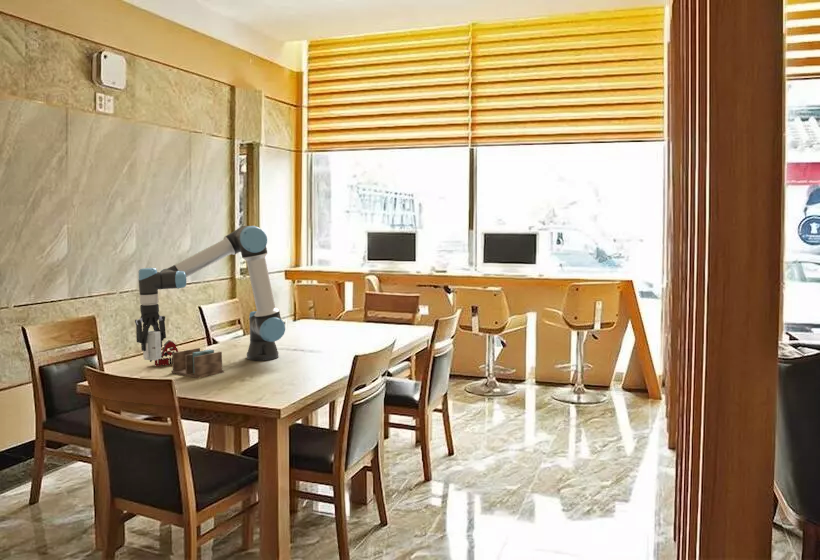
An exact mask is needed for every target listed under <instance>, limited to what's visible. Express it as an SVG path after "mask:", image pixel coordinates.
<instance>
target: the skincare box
mask: <svg viewBox="0 0 820 560" xmlns="http://www.w3.org/2000/svg"><path fill="white" fill-rule="evenodd" d="M146 343H148V353H149V358H148V359H147V358H144V357H143V360H144V361H145V360H146V361H150V360H152V361H155V360H157V361H158V359H161V353H162V348H161V336H160V331H154V330H148V335H147V341H146Z"/></svg>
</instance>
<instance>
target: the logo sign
mask: <svg viewBox="0 0 820 560" xmlns="http://www.w3.org/2000/svg"><path fill="white" fill-rule="evenodd" d="M175 352H179V349H178V347H177V344H176V343H175V342H174V341H172V340H169V339H168V340H166V342H165V343H164V344H163V346H162V349H161V359H158V360H154V366H155V365H156V366H155V367H162V366H161V365H163V366H171V365H170V364H172V365H173V362H172V353H175ZM168 356H169V357H168ZM152 361H153V360H149V362H150V363H152Z"/></svg>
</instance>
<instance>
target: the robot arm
mask: <svg viewBox="0 0 820 560" xmlns="http://www.w3.org/2000/svg"><path fill="white" fill-rule="evenodd" d="M267 244H268V236H267V233H266V232H265V231H264V230H263V228H260V227H259V226H257V225H243V226H240V227H239V228H236V229H235V230H233V231H232V232H231V233H228V234H227V235H225V236H223V238H222V240H220V241H218V242H216V243H215V244H212V245H210V246H208V247H206V248H204V249H203V250H201V251H198V252H197V253H195V254H193V255H191V256H189V257H187V258H184V259H183V260H181V261H180V262H177V263H175V264H174V265H171V266H170V267H168V268H164V269H161V270H160V271H158V270H157V268H156V267H145V268H144V267H142V268H139V270H138V278H137V279H138V291H139V304H140V305H139V307H140V315H141V316H140V317H139V318H138V319H135V320H134V323H135V328H136V331H135V332H136V338H135V339H136V343H138V344H140V346H141V347H140V349H141V351H142V352H143V354H142V356H143V359H144V358H147V359H148V358H149V353H148V343H146V341H147V335H148V331H150V327H152V328H153V331H160V336H161V349H163V341H164V339H166V338H167V333H166V323H165V322H166V316H165V315H160V314H159V313H160V305H159V290H172V289H183V288H186V287H187V278H188V277H189V276H191V275H194V274H196V273H197V272H200V271H202V270H203V269H206V268H207V267H209V266H210V265H212V264H214V263H217V262H219V261H221V260H222V259H225V258H226V257H229V256H230V255H234V256H235V255H237V254H239V253H240V254H241V258H242V259H244V261H246V266H247V271H248V276H249V281H250V286H251V290H252V294H253V300H254V303H255V310H256V311H255V310H253V311H250V312H249V317H248V321H249V345H248V348H247V349H248V350H247V352H246V359H247V360H250V361H270V360H275V359H278V358H279V356H280V355H279V351H278V348H277V344H276V342H277V341H280V339H281V338H282V337H283V336H284V335H285V333H286V325H285V322H284V321H283V320H282V316H281V313H280V309H279V308H277V306H276V304H275V300H274V294H273V290H272V289H273V288H272V285H271V281H270V276H269V270H268V265H267V261H266V256H267V254H268V250H267Z"/></svg>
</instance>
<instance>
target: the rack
mask: <svg viewBox="0 0 820 560" xmlns="http://www.w3.org/2000/svg"><path fill="white" fill-rule="evenodd" d="M174 352H175V353H172V355H171V360H172V362H173V364H172V370H171V372H172V374H174V373H176V375H179V374H180V375H181V376H184V375H186V376H185V377H189V376H190V378H194V377H195V378H194V379H200V378H199V377H201V378H204V376H205V377H210V376H214V375H218V374H222V372H223V373H224V372H225V370H224V369H223V356H222V355H223V354H222V353H223V352H222V351H217V352H215V350H214V349H205V350H201V348H199V347H197V348H196V347H195V348H191V349H186V350H181V351H178V352H176V351H174ZM209 375H210V376H209Z"/></svg>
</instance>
